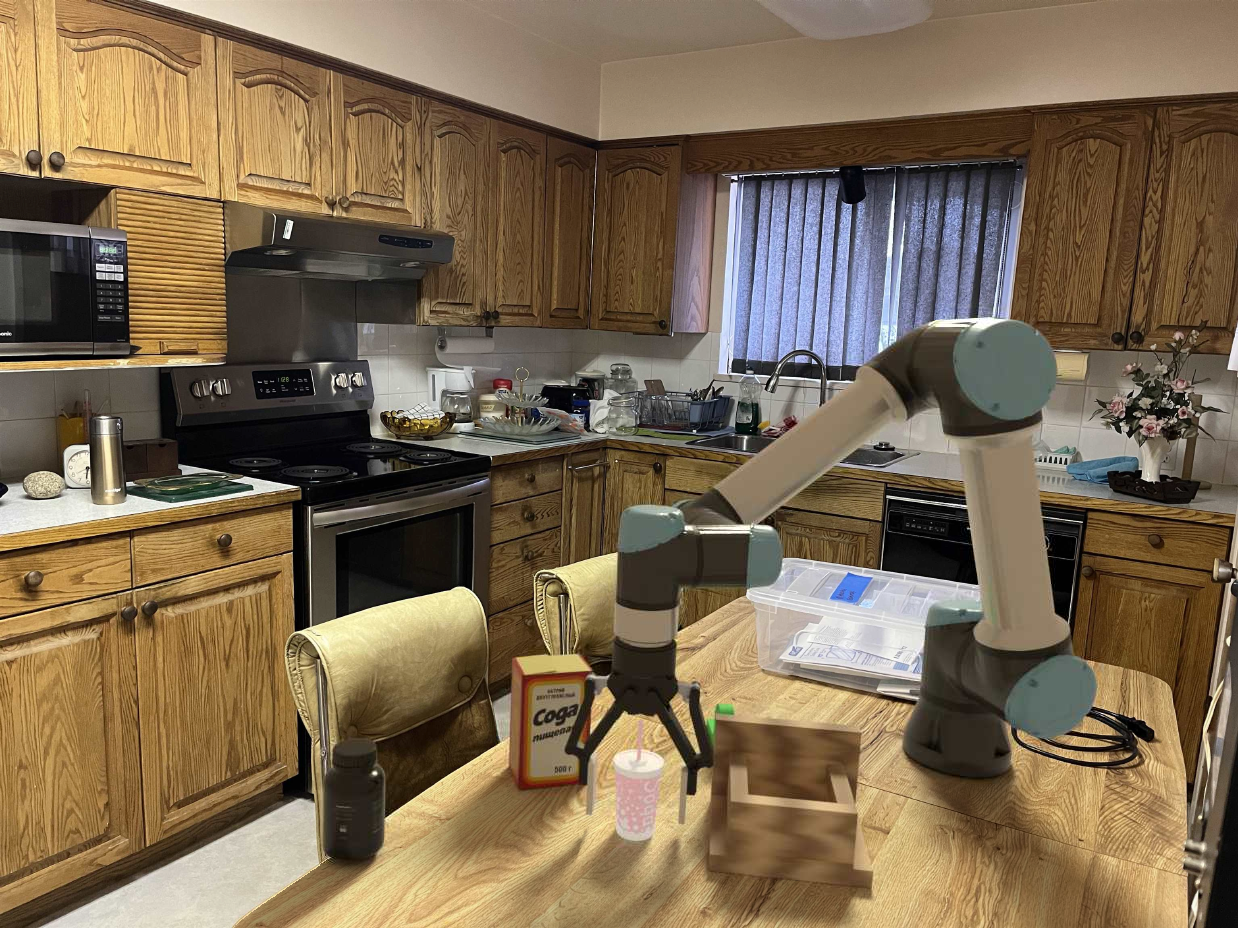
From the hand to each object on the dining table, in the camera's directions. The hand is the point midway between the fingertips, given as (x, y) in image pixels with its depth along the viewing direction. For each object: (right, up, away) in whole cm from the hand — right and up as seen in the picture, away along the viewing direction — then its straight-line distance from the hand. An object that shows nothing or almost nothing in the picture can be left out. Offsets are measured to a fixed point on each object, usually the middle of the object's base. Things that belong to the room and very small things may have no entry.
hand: (635, 813), depth 111 cm
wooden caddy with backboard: (+18, -3, -1) cm, 18 cm away
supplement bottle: (-32, -2, -6) cm, 33 cm away
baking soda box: (-12, 0, +14) cm, 18 cm away
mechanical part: (+15, 0, +25) cm, 29 cm away
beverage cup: (0, -2, 0) cm, 2 cm away
